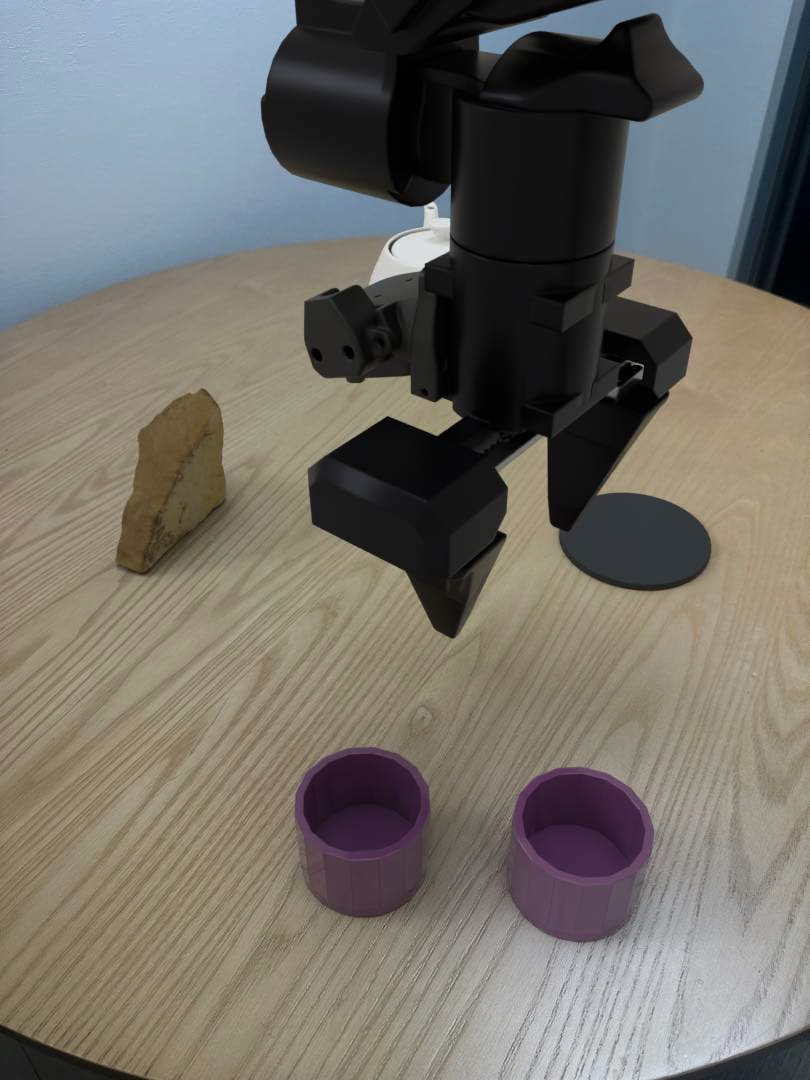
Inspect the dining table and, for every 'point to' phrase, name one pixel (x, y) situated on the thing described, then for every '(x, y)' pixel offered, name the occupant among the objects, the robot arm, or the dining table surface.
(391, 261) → the teapot
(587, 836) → the purple cup
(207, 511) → the rock
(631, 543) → the coaster
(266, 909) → the dining table surface
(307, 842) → the purple faceted cup
